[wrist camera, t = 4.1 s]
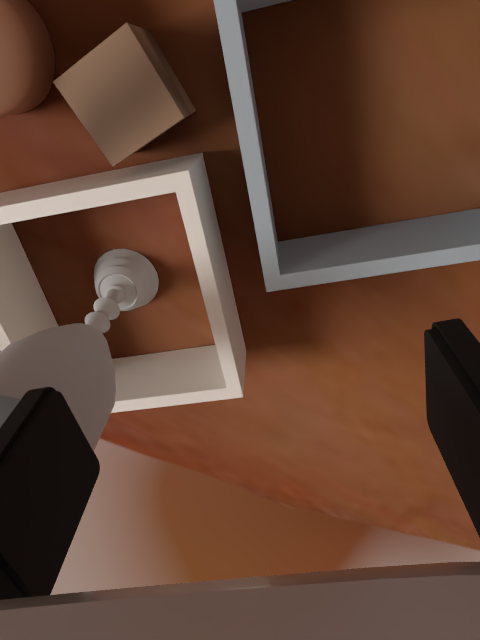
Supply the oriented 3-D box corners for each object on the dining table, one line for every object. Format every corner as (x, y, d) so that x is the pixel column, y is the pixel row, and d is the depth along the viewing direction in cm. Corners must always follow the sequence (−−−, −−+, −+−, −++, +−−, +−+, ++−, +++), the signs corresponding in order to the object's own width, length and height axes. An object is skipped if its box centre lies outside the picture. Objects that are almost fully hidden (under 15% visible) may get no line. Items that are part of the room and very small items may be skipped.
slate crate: (220, -5, 25) (209, -25, 20) (521, -79, 23) (597, -124, 18) (266, 256, 33) (266, 292, 27) (494, 219, 30) (542, 250, 25)
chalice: (71, 298, 35) (-84, 481, 20) (89, 222, 32) (-79, 367, 16) (158, 330, 36) (77, 527, 21) (184, 258, 33) (111, 428, 17)
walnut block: (86, 80, 28) (52, 81, 23) (149, 30, 26) (126, 22, 22) (135, 152, 30) (112, 166, 25) (196, 110, 28) (183, 117, 24)
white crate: (-15, 195, 31) (-71, 220, 26) (202, 152, 29) (188, 170, 24) (69, 374, 39) (39, 421, 34) (246, 350, 37) (243, 397, 32)
